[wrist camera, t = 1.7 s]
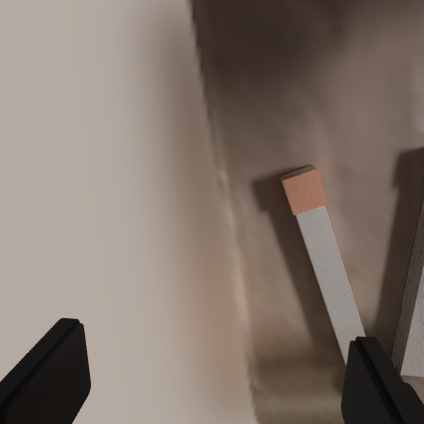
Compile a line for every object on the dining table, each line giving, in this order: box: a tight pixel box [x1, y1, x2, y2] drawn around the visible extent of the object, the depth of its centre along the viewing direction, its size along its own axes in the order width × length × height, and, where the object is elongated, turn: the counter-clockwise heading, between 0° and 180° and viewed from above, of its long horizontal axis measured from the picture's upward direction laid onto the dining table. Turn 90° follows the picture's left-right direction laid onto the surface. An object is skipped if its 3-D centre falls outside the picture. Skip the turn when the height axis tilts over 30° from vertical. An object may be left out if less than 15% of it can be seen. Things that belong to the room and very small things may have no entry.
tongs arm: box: [279, 165, 366, 366], centre depth 28 cm, size 20×3×2 cm, turn 21°
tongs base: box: [391, 195, 424, 383], centre depth 27 cm, size 25×5×3 cm, turn 179°
